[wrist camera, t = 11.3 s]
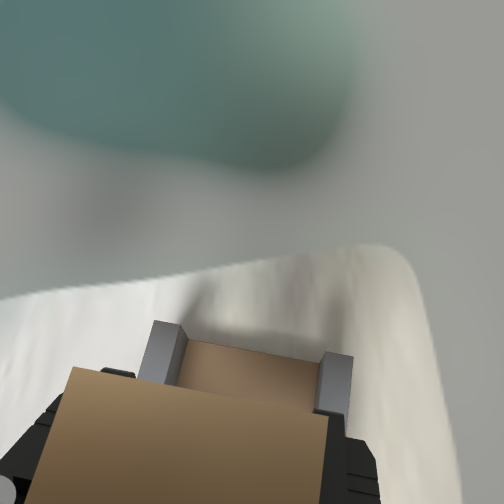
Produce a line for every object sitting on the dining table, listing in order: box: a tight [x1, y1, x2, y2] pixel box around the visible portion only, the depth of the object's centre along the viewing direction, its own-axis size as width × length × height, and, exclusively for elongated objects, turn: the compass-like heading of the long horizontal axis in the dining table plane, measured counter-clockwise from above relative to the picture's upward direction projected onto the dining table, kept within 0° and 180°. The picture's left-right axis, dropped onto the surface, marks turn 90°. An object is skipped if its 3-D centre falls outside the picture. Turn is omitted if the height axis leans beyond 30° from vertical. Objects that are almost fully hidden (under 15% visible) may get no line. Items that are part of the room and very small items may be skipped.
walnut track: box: [137, 320, 354, 437], centre depth 19 cm, size 12×9×4 cm
